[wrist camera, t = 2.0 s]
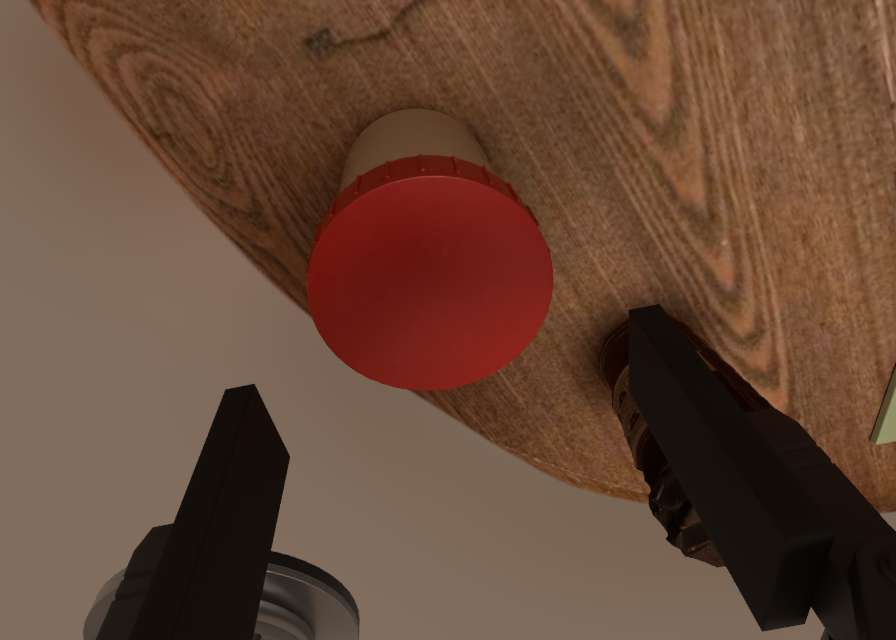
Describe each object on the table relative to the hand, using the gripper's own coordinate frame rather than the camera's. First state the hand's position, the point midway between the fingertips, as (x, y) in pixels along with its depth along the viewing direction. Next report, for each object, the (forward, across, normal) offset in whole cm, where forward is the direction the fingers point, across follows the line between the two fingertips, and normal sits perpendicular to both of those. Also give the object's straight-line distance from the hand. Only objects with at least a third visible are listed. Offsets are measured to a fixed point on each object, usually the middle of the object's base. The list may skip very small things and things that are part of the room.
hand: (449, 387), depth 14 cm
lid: (+5, 0, 0) cm, 5 cm away
